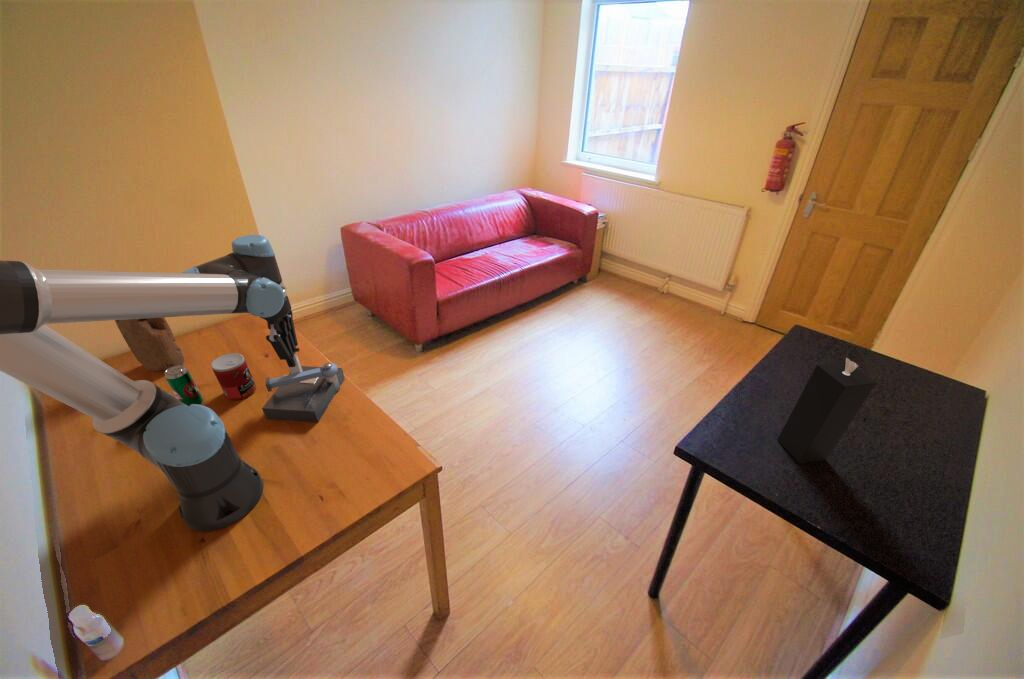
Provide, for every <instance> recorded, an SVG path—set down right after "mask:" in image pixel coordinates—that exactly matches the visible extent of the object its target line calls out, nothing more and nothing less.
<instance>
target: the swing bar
mask: <svg viewBox="0 0 1024 679" xmlns="http://www.w3.org/2000/svg"><path fill="white" fill-rule="evenodd" d="M330 363H331V365H332V367H331V368H329V369H325V368H324V364H322V366H320V367H321V368H316V369H312V370H308V371H304V372H299V373H295V374H291V375H289V374H286V375H287V376H284V375H282V376H279V377H274V378H270V377H269V376H268V377H267V376H266V377H265V387H266V389H267V392H272V389H275V388H276V389H277V388H278V387H280V386H284V385H288V384H292V383H296V382H301V381H305V380H309V379H313V378H317V377H321V376H323V377H332V376H334V375H336V374H337V372H338V369H337V368H338V365H337V364H336V363H333V362H330Z"/></svg>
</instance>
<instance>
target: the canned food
mask: <svg viewBox="0 0 1024 679" xmlns="http://www.w3.org/2000/svg"><path fill="white" fill-rule="evenodd" d="M210 366H211V368H212V371H213V373H214V376H215V378H216V380H217V381H218V384H219V386H220V387H221V390H222V391H223V394H224V396H225V397H226V398H228V399H229V400H232V401H239V400H243V399H247V398H248V397H250V396H252V395H253V394H254V393H255V391H256V389H257V386H256V382H255V380H254V378H253V375H252V373H251V371H250V368H249V366H248V363H247V361H246V359H245V357H244V355H243V354H241V353H236V352H233V353H225V354H223V355H221V356H218V357H217V358H215V359H213V361H212V362H211V364H210Z"/></svg>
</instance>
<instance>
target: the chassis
mask: <svg viewBox="0 0 1024 679" xmlns="http://www.w3.org/2000/svg"><path fill="white" fill-rule="evenodd" d="M331 363H332V362H326V363H324V364H323V365H324V368H325V369H329V368H331V367H332V365H331ZM301 368H302V371H303V372H304V371H308V370H312V369H316V368H321V366H310V365H309V366H308V365H307V366H306V365H301ZM337 369H338V372H337V374H336V375H334V376H332V377H323V376H321V377H317V378H313V379H309V380H305V381H301V382H296V383H292V384H288V385H284V386H280V387H277V388H276V390H275V391H274V392H273V394H271V396H270V397H269V399H268V400H267V401H266V402H265V403H264V405H263V407H262V408H261V409H262V412H263V414H264V417H265V418H266V420H270V421H271V420H273V421H289V422H292V421H293V422H306V423H319V422H320V420H321V418H322V417H323V415H324V413H325V412H326V411H327V409H328V407H329V406H328V405H330V404H331V402H332V401H333V399H334V397H335V396H336V394H337V393H338V392H340V390H341V386H342V384H343V382H344V381H345V379H346V378H345V375H344V374H345V373H344V371H343V368H341V367H337ZM287 375H291V373H290V372H289V373H288V374H283V376H287ZM334 395H335V396H334ZM331 400H332V401H331ZM329 403H330V404H329Z"/></svg>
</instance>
